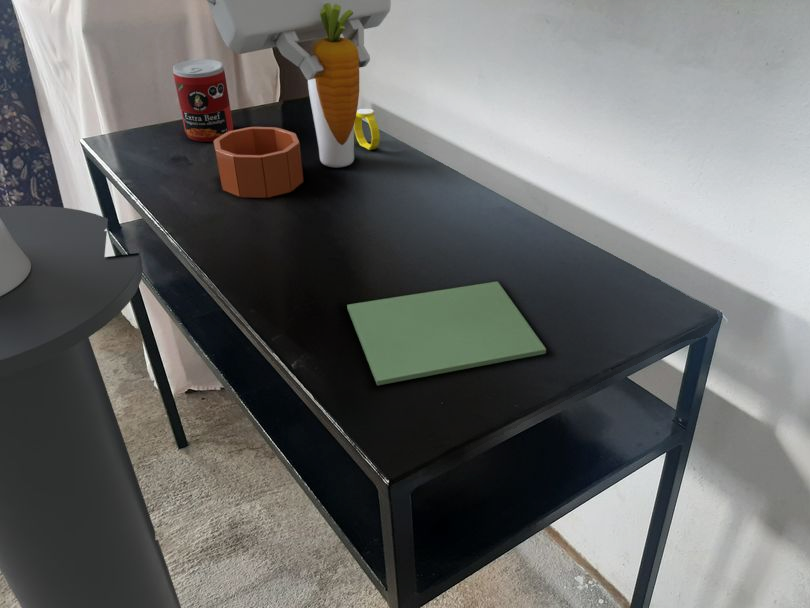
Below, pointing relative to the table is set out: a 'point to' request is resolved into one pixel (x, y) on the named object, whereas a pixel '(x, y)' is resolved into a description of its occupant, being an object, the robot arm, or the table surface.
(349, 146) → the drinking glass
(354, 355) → the table surface
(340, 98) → the carrot
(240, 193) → the pot
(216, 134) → the canned food
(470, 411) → the table surface
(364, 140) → the watch
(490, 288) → the mat
